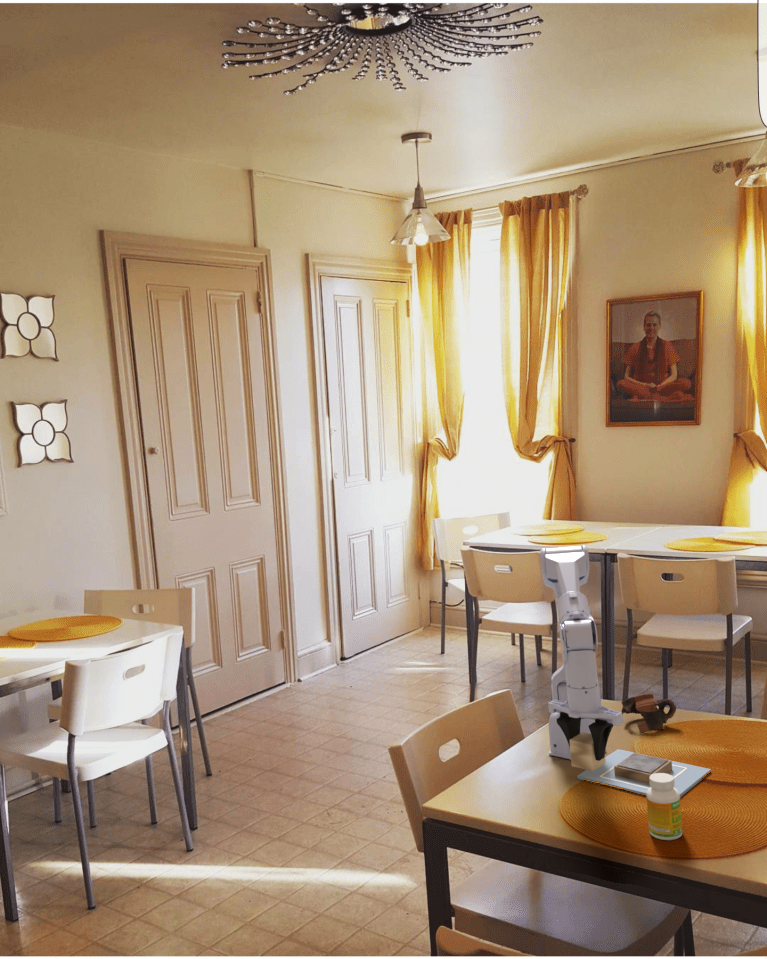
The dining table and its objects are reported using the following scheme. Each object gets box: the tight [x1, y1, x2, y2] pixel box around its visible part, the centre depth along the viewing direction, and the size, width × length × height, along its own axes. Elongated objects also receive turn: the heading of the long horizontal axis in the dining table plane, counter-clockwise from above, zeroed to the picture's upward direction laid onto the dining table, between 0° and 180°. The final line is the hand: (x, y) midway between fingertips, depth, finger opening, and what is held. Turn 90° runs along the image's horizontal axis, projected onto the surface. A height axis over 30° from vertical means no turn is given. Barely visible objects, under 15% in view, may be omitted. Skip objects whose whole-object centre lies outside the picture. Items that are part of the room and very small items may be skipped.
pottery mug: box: [620, 693, 677, 734], centre depth 196 cm, size 12×10×8 cm
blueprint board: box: [576, 748, 712, 798], centre depth 170 cm, size 20×16×3 cm
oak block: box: [570, 732, 606, 771], centre depth 161 cm, size 4×4×5 cm
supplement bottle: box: [646, 773, 683, 841], centre depth 146 cm, size 5×5×10 cm
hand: (588, 755), depth 161 cm, fingers closed on oak block, 4 cm apart
